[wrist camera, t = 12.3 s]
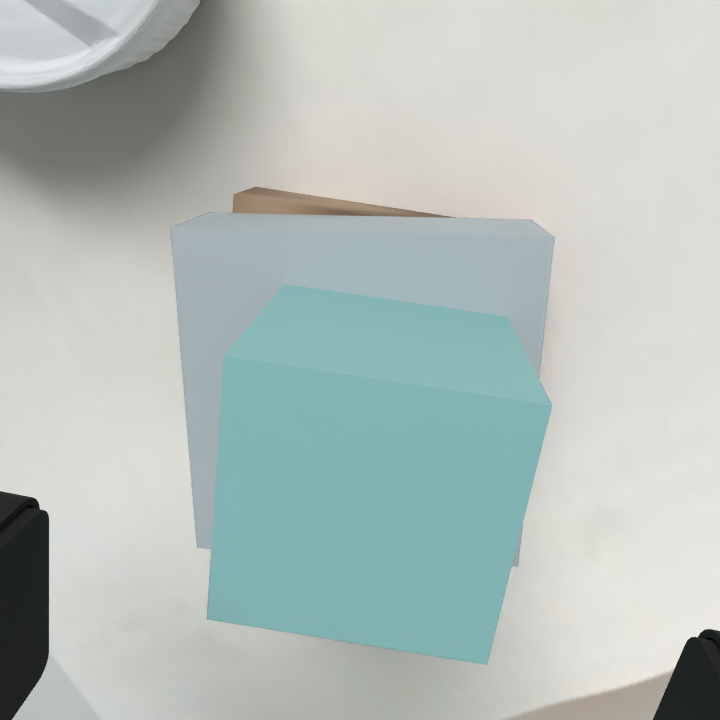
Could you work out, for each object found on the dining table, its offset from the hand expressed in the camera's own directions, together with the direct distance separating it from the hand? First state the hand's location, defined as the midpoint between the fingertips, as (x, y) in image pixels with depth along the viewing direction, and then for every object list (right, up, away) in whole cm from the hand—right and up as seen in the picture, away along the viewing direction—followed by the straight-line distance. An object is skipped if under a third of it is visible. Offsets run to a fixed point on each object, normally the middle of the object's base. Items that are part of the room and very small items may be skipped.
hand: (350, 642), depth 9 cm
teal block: (+1, +3, +9) cm, 10 cm away
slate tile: (0, +4, +12) cm, 13 cm away
